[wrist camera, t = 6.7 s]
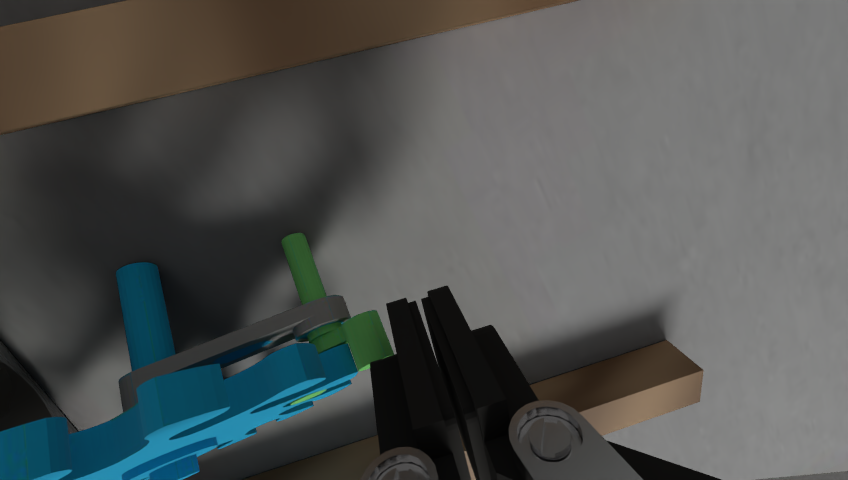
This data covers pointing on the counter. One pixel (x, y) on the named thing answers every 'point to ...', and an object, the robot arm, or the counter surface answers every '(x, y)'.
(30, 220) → the counter surface
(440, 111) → the counter surface
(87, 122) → the counter surface
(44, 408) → the plate with round knob
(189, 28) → the channel rails
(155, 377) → the gear
